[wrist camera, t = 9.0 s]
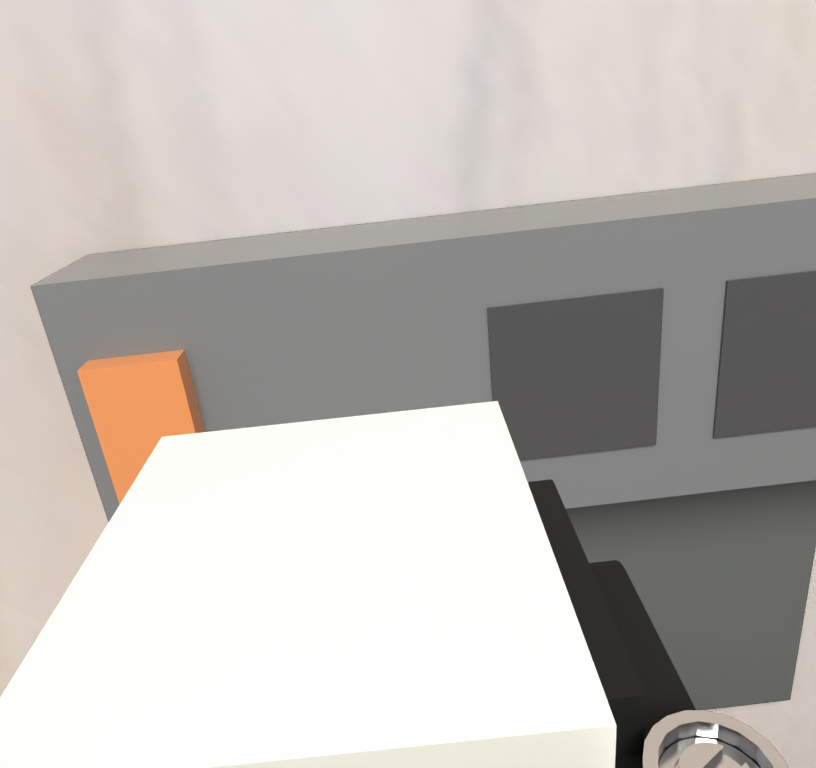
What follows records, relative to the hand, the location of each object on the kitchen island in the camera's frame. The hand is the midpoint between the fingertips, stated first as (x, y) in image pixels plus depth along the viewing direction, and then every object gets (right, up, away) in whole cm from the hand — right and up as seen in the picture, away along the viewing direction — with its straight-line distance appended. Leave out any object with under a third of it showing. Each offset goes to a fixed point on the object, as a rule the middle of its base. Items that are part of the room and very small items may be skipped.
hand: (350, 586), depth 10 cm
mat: (+10, -5, +15) cm, 19 cm away
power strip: (+10, +5, +10) cm, 16 cm away
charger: (0, 0, +1) cm, 1 cm away
